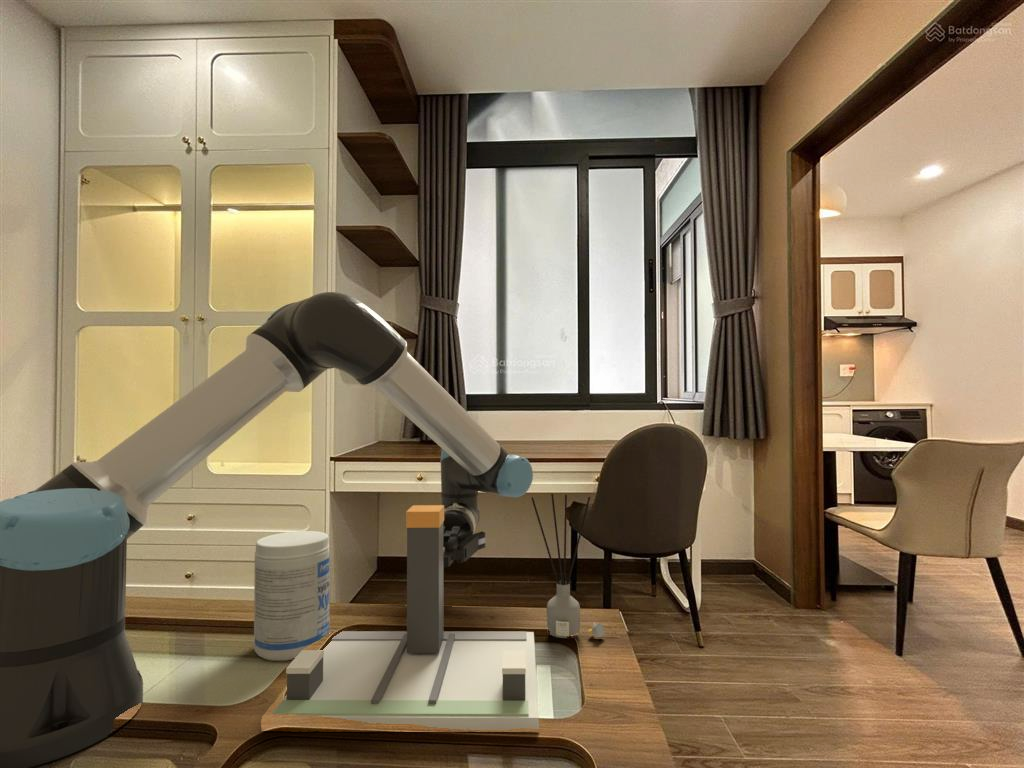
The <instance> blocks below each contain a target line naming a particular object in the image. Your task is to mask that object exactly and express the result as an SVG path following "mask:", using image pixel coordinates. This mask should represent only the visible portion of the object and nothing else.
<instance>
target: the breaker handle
mask: <svg viewBox="0 0 1024 768" xmlns="http://www.w3.org/2000/svg"><path fill="white" fill-rule="evenodd" d="M405 513H406V514H405V521H406V522H405V528H406V631H407V653H439V651H440V648H441V645H442V642H443V631H444V568H443V521H444V505H441V504H439V505H437V504H435V505H433V504H432V505H430V504H428V505H426V504H424V505H423V504H422V505H421V504H418V505H417V504H414V505H411V507H409V508H408V509H407V510H406V512H405Z"/></svg>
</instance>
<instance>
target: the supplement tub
mask: <svg viewBox="0 0 1024 768" xmlns="http://www.w3.org/2000/svg"><path fill="white" fill-rule="evenodd" d="M253 580H254V582H253V583H254V587H253V588H254V591H253V592H254V594H253V596H254V597H253V599H254V600H253V603H254V608H253V609H254V612H253V613H254V614H253V616H254V618H253V619H254V620H253V621H254V622H253V649H254V652H255V653H256V655H257V656H259V657H260V658H261V659H265V660H268V661H272V662H273V661H275V662H276V661H277V662H281V661H289V660H290V661H291V660H294V659H293V658H294V657H296V656H297V655H298V654H299V653H300V652H301V651H302V650H303V649H304V648H306V647H307V646H309V645H311V644H312V643H314V642H316V641H318V640H320V639H321V638H323V637H324V636H325V635H326V634H327V633H328V631H329V632H330V543H329V535H328V533H325V532H323V531H317V530H298V531H287V532H280V533H275V534H271V535H267V536H264V537H261V538H259V539H258V540H257V541H256V543H255V552H254V579H253Z"/></svg>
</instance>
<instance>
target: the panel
mask: <svg viewBox="0 0 1024 768" xmlns="http://www.w3.org/2000/svg"><path fill="white" fill-rule="evenodd" d="M535 646H536V645H535V633H534V631H525V630H523V631H522V630H521V631H515V630H514V631H513V630H512V631H506V630H505V631H504V630H503V631H498V630H497V631H491V630H490V631H489V630H488V631H487V630H486V631H479V630H478V631H477V630H475V631H473V630H472V631H470V630H469V631H466V630H465V631H463V630H459V631H455V630H453V631H451V630H450V631H447V630H446V631H445V630H443V642H442V645H441V648H440V651H439V653H407V630H406V631H405V630H401V631H400V630H399V631H398V630H397V631H396V630H395V631H393V630H391V631H390V630H389V631H388V630H387V631H386V630H385V631H384V630H380V631H379V630H377V631H375V630H373V631H371V630H370V631H369V630H367V631H364V630H360V631H359V630H357V631H355V630H351V631H350V630H344V631H343V630H342V632H340V633H339V634H337V635H336V636H334V637H333V638H332V641H331V642H330V643H329V644H328V645H327V646H326V647H325V648H324V649H323V650H302V651H301V652H300V653H299V654H298V655H297V657H296V658H295V659H292V661H291V662H290V663H289V664H288V665H287V666H286V669H285V670H286V671H285V672H286V673H285V674H286V686H287V695H286V696H285V700H282V701H281V703H280V704H279V705H278V706H277V708H276V709H275V710H274V711H273V713H272V714H296V715H297V714H298V715H308V716H309V715H315V716H316V715H317V716H318V717H319V715H320V716H322V717H330V718H331V717H332V718H337V719H338V718H341V719H346V720H353V721H354V720H355V721H361V722H367V723H374V724H376V723H382V724H385V723H386V724H413V725H414V724H415V725H423V726H427V727H437V728H449V729H464V730H466V729H470V730H503V731H505V730H509V729H518V728H534V729H539V730H540V726H539V725H540V719H539V718H540V717H539V715H540V714H539V701H538V700H539V699H538V683H537V682H538V681H537V667H536V649H535Z"/></svg>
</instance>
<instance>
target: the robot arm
mask: <svg viewBox="0 0 1024 768" xmlns="http://www.w3.org/2000/svg"><path fill="white" fill-rule="evenodd" d="M245 341H246V343H245V350H244V351H242V352H241V353H240V354H239V355H237V356H236V357H234V358H233V359H232V360H231V361H229V362H228V363H227V364H225V365H224V366H223V367H221V368H220V369H218V370H217V371H216V372H214V373H213V374H212V375H210V376H209V377H207V378H206V379H205V380H203V381H202V382H201V383H199V384H198V385H197V386H196V387H194V388H193V389H191V390H190V391H189V392H188V393H186V394H184V395H183V396H182V397H181V398H180V399H178V400H177V401H176V402H174V403H172V404H171V405H170V406H169V407H167V408H166V409H165V410H163V411H162V412H161V413H159V414H158V415H157V416H155V417H154V418H152V419H151V420H150V421H149V422H146V424H144V425H143V426H142V427H140V428H139V429H138V430H136V431H135V432H134V433H132V434H131V435H129V436H127V438H126V439H124V440H123V441H122V442H120V443H119V444H117V445H116V446H115V447H113V448H112V449H110V450H109V451H108V452H107V453H105V454H104V455H103V456H101V457H100V458H99V459H97V460H94V461H74V462H72V463H71V464H69V465H68V466H67V467H65V468H63V470H61V471H60V472H59V473H57V474H55V475H54V476H52V477H51V479H49V480H47V481H46V482H44V483H43V484H42V485H41V486H39V487H37V488H36V489H34V490H31V491H28V492H26V493H23V494H19V495H16V496H14V497H12V498H7V499H4V500H1V501H0V768H32V767H36V766H39V765H43V764H46V763H50V762H52V761H56V760H59V759H61V758H63V757H67V756H69V755H72V754H74V753H76V752H79V751H82V750H83V749H86V748H88V747H90V746H92V745H94V744H96V743H98V742H100V741H101V740H104V739H106V738H108V737H109V736H110V735H111V734H110V732H111V729H112V727H113V725H114V724H113V723H114V722H113V720H114V719H115V718H116V717H118V716H119V715H120V714H122V713H124V712H125V711H127V710H128V709H130V708H132V707H134V706H136V705H138V704H139V703H142V704H143V701H144V681H143V676H142V675H141V672H140V671H139V669H138V667H137V665H136V662H135V658H134V654H133V651H132V650H131V646H130V643H129V641H128V638H127V636H126V603H127V602H126V601H127V599H126V598H127V597H126V596H127V553H128V552H127V550H128V548H127V547H128V546H127V545H128V544H127V542H128V541H127V540H128V539H129V538H131V536H133V535H134V534H135V533H136V532H138V531H139V530H140V529H141V528H142V527H143V526H145V525H146V524H147V514H148V509H149V507H150V506H151V504H152V503H154V502H156V500H158V499H159V497H161V496H163V494H165V493H166V492H167V491H168V490H169V489H170V488H172V487H173V486H174V485H176V484H177V483H178V482H179V481H180V480H181V479H182V478H184V477H185V476H186V475H187V474H189V473H190V472H191V471H192V470H194V469H195V467H197V466H198V465H199V464H200V463H202V462H203V461H204V460H205V459H207V458H208V457H209V456H210V455H211V454H212V453H214V452H215V451H216V450H217V449H218V448H220V447H221V446H222V445H223V444H224V443H225V442H227V441H228V440H230V439H231V438H232V437H233V436H234V435H235V434H237V432H238V431H240V430H241V429H242V428H244V427H245V426H246V425H247V424H248V423H250V422H251V421H252V420H253V419H254V418H255V417H257V416H259V414H260V413H261V412H263V411H264V410H265V409H266V408H268V407H269V406H270V405H271V404H272V403H273V402H274V401H276V400H277V399H278V398H279V397H281V395H283V394H284V393H286V392H289V393H300V392H302V391H303V390H304V389H305V388H306V387H308V386H309V385H310V384H311V383H313V381H315V380H316V379H317V378H318V377H319V376H320V375H322V374H323V373H324V372H326V371H327V370H329V369H336V370H340V371H342V372H343V373H345V374H347V375H349V376H351V377H352V378H353V379H355V380H356V381H357V382H358V383H359V384H360V385H362V386H363V387H368V386H371V387H373V388H374V389H376V390H377V391H378V392H379V393H380V394H381V395H382V396H383V397H384V398H386V399H387V400H388V401H389V402H390V403H391V404H392V405H393V406H395V407H396V408H397V410H399V411H400V412H401V413H402V414H403V415H404V416H405V417H406V418H408V419H409V420H410V421H411V423H413V424H414V425H415V426H416V427H418V429H420V431H422V432H423V433H424V434H425V435H426V436H428V437H429V438H430V439H431V440H432V441H433V443H436V444H437V445H438V446H439V447H440V448H441V451H440V452H441V455H440V460H439V462H440V485H441V486H440V487H441V489H440V490H441V492H440V505H444V521H443V569H444V568H449V567H451V565H452V564H453V563H454V561H457V563H459V564H463V563H465V562H466V561H468V559H470V558H471V557H472V556H473V555H475V553H477V552H478V551H480V550H482V549H485V548H486V532H485V531H479V532H477V533H476V532H475V531H476V529H477V526H478V524H479V522H480V508H479V492H481V493H485V494H491V495H497V496H500V497H502V498H506V497H507V498H508V497H509V498H510V497H511V498H518V497H522V496H524V495H525V494H526V493H527V492H528V491H529V489H530V488H531V485H532V484H533V478H534V472H533V471H534V470H533V466H532V465H531V462H530V461H529V460H528V459H527V458H526V457H524V456H522V455H521V456H520V455H518V454H514V453H513V454H511V453H509V452H508V451H507V450H506V449H505V448H503V446H501V445H500V444H499V443H498V442H497V440H495V438H494V437H493V436H492V435H490V434H489V433H488V431H486V430H485V429H484V428H483V427H482V426H481V424H479V422H477V420H476V419H475V418H474V417H473V416H471V415H470V413H469V412H467V410H466V409H465V408H463V406H462V405H461V404H460V403H458V401H457V400H456V399H454V397H453V396H452V395H451V394H450V393H449V392H448V391H446V389H445V388H444V387H443V386H442V385H441V384H440V383H439V382H438V381H437V380H436V379H435V378H434V377H433V376H432V375H431V374H430V373H429V372H428V371H427V370H426V369H425V367H423V366H422V365H421V364H420V363H419V362H418V361H417V360H416V359H415V357H413V356H412V355H411V354H410V353H409V351H408V342H407V341H406V340H405V338H404V337H402V336H401V334H400V333H398V332H397V330H395V328H393V326H392V325H391V324H389V322H387V321H386V319H384V318H383V317H381V316H380V315H379V314H378V313H377V312H375V311H374V310H373V309H372V308H370V307H369V306H368V305H367V304H365V303H363V302H362V301H360V300H358V299H357V298H355V297H352V296H350V295H348V294H345V293H342V292H341V293H340V292H336V291H335V292H334V291H326V292H320V293H316V294H314V295H312V296H310V297H308V298H305V299H302V300H299V301H297V302H290V303H287V304H285V305H283V306H282V307H280V308H278V309H276V310H275V311H274V312H273V313H271V315H270V316H269V317H268V318H267V320H266V322H265V323H263V324H262V325H260V326H259V327H258V328H256V329H255V330H254V331H253V332H251V333H249V334H248V335H247V336H246V340H245ZM109 734H110V735H109ZM108 735H109V736H108Z"/></svg>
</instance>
